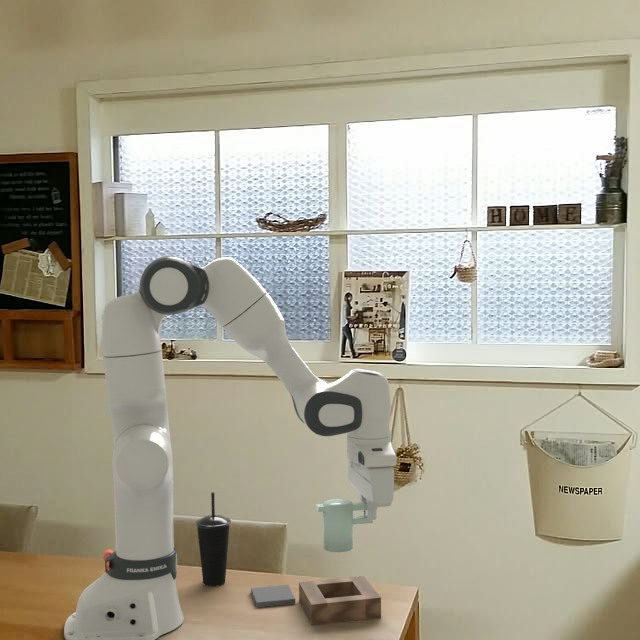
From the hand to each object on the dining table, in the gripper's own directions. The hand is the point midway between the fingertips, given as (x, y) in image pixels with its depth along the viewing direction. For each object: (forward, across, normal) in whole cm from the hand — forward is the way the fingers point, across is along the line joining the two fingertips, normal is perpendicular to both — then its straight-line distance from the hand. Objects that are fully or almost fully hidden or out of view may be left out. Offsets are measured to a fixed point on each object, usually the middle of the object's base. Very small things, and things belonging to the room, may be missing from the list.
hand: (369, 517), depth 167 cm
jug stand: (+18, 0, -6) cm, 19 cm away
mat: (+18, -9, -18) cm, 28 cm away
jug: (+6, 0, -5) cm, 8 cm away
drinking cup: (+19, -21, -29) cm, 41 cm away
